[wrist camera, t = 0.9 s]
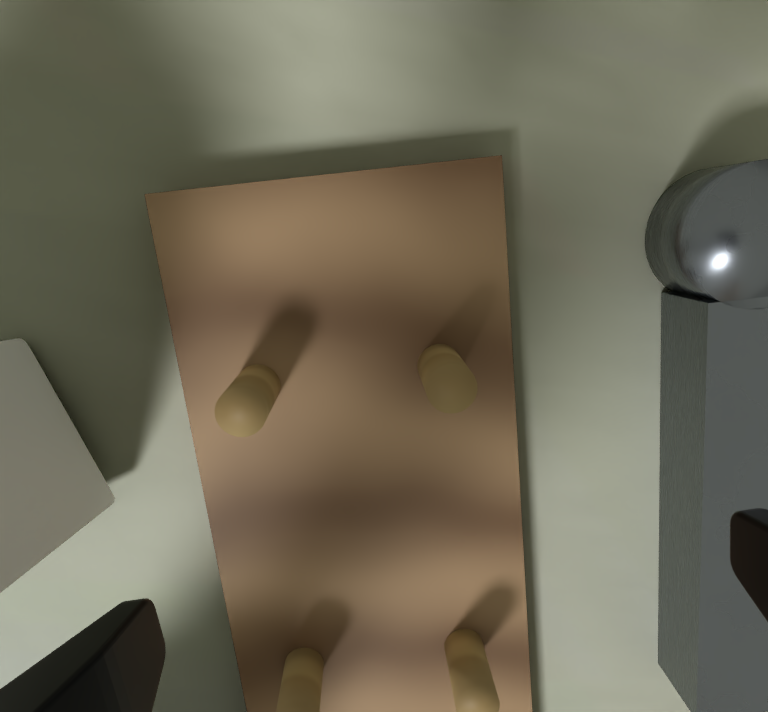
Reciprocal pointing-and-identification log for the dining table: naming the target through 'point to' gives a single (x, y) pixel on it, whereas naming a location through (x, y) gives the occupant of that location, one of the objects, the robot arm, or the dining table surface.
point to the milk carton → (39, 467)
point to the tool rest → (356, 432)
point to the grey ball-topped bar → (711, 429)
